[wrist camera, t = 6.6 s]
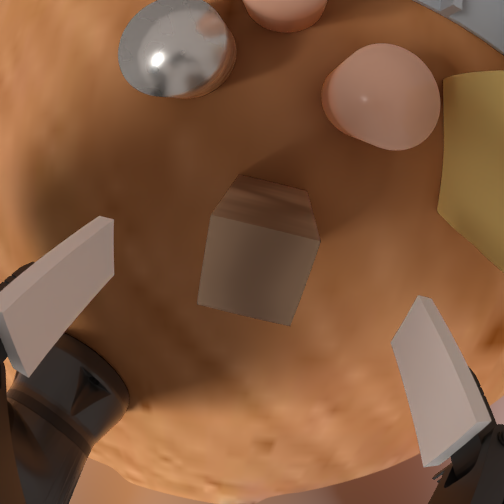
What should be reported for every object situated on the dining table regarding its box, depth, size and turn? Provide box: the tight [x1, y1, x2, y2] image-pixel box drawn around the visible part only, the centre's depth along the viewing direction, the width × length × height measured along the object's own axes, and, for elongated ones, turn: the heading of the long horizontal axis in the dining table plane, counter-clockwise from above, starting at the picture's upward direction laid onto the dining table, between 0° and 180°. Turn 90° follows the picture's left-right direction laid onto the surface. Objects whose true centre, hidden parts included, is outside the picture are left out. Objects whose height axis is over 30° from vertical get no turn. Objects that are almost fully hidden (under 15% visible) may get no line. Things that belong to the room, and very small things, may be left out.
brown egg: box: [321, 43, 440, 150], centre depth 14 cm, size 5×5×6 cm
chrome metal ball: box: [118, 0, 237, 99], centre depth 14 cm, size 6×6×4 cm
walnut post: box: [197, 174, 321, 326], centre depth 17 cm, size 4×4×8 cm
